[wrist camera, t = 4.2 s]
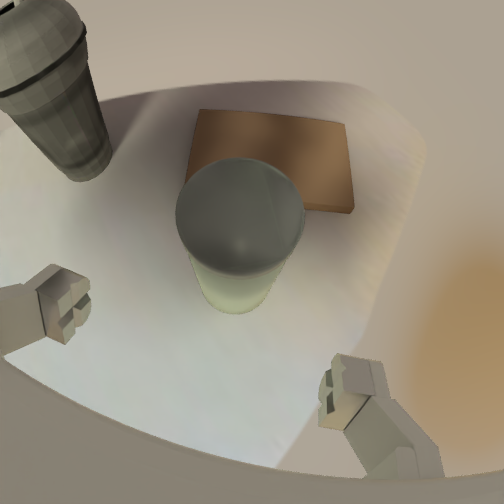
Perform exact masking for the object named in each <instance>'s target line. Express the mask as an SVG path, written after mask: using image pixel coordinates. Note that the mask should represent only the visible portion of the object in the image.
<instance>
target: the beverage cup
mask: <svg viewBox="0 0 504 504" xmlns="http://www.w3.org/2000/svg"><path fill="white" fill-rule="evenodd" d="M86 33H87V31H86V26H85V24H84V23H83V21H81V20H80V17H79V15H78V13H77V12H76V10H75V9H74V8H73V7H72V6H71V5H70V4H69V3H68V2H66V1H65V0H12V1H10V2H9V3H7V4H6V5H4V6H3V7H2V8H0V109H1V110H2V111H3V112H5V113H7V114H8V115H9V116H10V117H11V118H12V119H13V121H14V122H15V123H16V124H17V125H18V126H19V127H20V128H21V130H22V131H23V132H24V133H25V134H26V135H27V136H28V137H29V138H30V139H31V141H32V142H33V143H34V144H35V145H36V146H37V147H38V148H39V149H40V150H41V151H42V152H43V153H44V155H45V156H46V157H47V158H48V159H49V160H50V161H51V162H52V163H53V164H54V165H55V166H56V167H57V168H58V169H59V170H60V171H62V172H63V173H64V174H65V175H66V176H67V177H68V178H69V179H71V180H73V181H76V182H83V181H88V180H90V179H92V178H94V177H96V176H98V175H99V174H100V173H101V172H103V170H104V169H105V168H106V167H107V165H108V164H109V162H110V159H111V156H112V149H111V145H110V143H109V137H108V133H107V130H106V127H105V123H104V120H103V117H102V113H101V110H100V106H99V103H98V99H97V96H96V93H95V89H94V85H93V81H92V77H91V74H90V70H89V66H88V62H87V60H88V52H87V42H86V37H85V35H86Z"/></svg>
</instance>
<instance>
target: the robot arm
mask: <svg viewBox="0 0 504 504" xmlns="http://www.w3.org/2000/svg"><path fill="white" fill-rule="evenodd" d="M89 290H90V280H89V279H88V278H87V277H84V276H82V275H80V274H77V273H75V272H73V271H70V270H68V269H66V268H63V267H60V266H58V265H56V264H50V265H49V266H47V267H46V268H45V269H43V270H42V271H41V272H39V273H38V274H37V275H35V276H34V277H33V278H31V279H30V280H29V281H28V282H26V283H25V284H24V285H23V284H21V283H20V284H16V285H11V286H7V287H2V288H0V504H504V469H503V470H498V471H492V472H486V473H480V474H472V475H465V476H455V477H445V475H444V471H443V466H442V462H441V457H440V453H439V449H438V446H437V445H436V444H435V443H434V442H433V441H432V440H431V439H430V437H429V436H428V435H427V434H426V433H425V432H424V431H423V430H422V429H421V427H420V426H419V425H418V424H417V423H416V422H415V421H414V420H413V419H412V418H411V417H410V415H409V414H408V413H407V412H406V411H405V410H404V409H403V408H402V407H401V406H400V405H399V403H398V402H397V401H396V400H395V399H391V397H390V393H389V388H388V384H387V380H386V376H385V371H384V367H383V364H382V362H381V361H376V360H370V359H363V358H358V357H353V356H348V355H344V354H339V353H337V354H336V355H335V356H334V358H333V359H332V361H331V369H330V370H328V371H326V372H325V374H324V376H323V378H322V380H321V383H320V386H319V393H318V399H319V401H320V402H321V403H322V405H321V407H320V408H319V410H318V420H319V421H318V426H319V427H324V428H329V429H335V430H341V431H343V433H344V435H345V436H346V438H347V440H348V441H349V443H350V445H351V447H352V448H353V450H354V452H355V453H356V455H357V457H358V458H359V460H360V462H361V463H362V465H363V467H364V468H365V470H366V472H367V475H366V476H365V477H364V478H362V479H358V478H344V477H332V476H322V475H313V474H306V473H299V472H292V471H286V470H280V469H274V468H269V467H264V466H259V465H254V464H249V463H245V462H240V461H236V460H232V459H228V458H224V457H220V456H216V455H212V454H209V453H205V452H202V451H198V450H195V449H192V448H188V447H185V446H182V445H179V444H176V443H173V442H170V441H167V440H164V439H161V438H158V437H156V436H153V435H150V434H148V433H145V432H142V431H140V430H137V429H135V428H132V427H130V426H127V425H125V424H123V423H120V422H118V421H116V420H113V419H111V418H109V417H107V416H104V415H102V414H100V413H98V412H96V411H94V410H91V409H89V408H87V407H85V406H83V405H81V404H79V403H77V402H75V401H73V400H71V399H69V398H68V397H66V396H64V395H62V394H60V393H58V392H56V391H55V390H53V389H51V388H49V387H48V386H46V385H44V384H42V383H41V382H39V381H37V380H36V379H34V378H32V377H31V376H29V375H27V374H26V373H24V372H23V371H21V370H19V369H18V368H16V367H15V366H13V365H12V364H10V363H9V362H7V361H6V360H5V359H4V355H6V354H8V353H11V352H13V351H15V350H18V349H20V348H22V347H24V346H27V345H29V344H31V343H33V342H36V341H38V340H40V339H42V338H45V337H46V336H47V337H49V338H51V339H53V340H55V341H58V342H60V343H62V344H64V345H66V344H67V342H68V341H69V340H70V339H71V338H72V337H73V335H74V334H75V328H76V327H79V326H82V325H83V324H84V323H85V322H86V320H87V319H88V316H89V314H90V310H91V299H90V298H89V296H88V294H87V292H88V291H89Z"/></svg>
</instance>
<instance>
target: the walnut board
mask: <svg viewBox="0 0 504 504" xmlns="http://www.w3.org/2000/svg"><path fill="white" fill-rule="evenodd" d="M235 157H243V158H252V159H256V160H260V161H263V162H266V163H268V164H270V165H272V166H274V167H276V168H277V169H279V170H280V171H282V172H283V173H284V174H285V175H286V176H287V177H288V178H289V179H290V180H291V181H292V182H293V184H294V185H295V186H296V188H297V190H298V192H299V193H300V196H301V198H302V201H303V205H304V209H309V210H319V211H329V212H338V213H347V214H350V213H351V212H352V210H353V209H354V197H353V187H352V178H351V169H350V161H349V153H348V146H347V138H346V131H345V125H344V124H341V123H335V122H329V121H322V120H315V119H308V118H301V117H293V116H285V115H276V114H266V113H255V112H242V111H227V110H207V109H200V110H199V114H198V119H197V124H196V128H195V133H194V138H193V143H192V148H191V153H190V158H189V163H188V169H187V174H186V179H185V184H186V183H187V181H188V180H189V179H190V178H191V177H192V176H193V175H194V174H195V173H196V172H197V171H199V170H200V169H201V168H203V167H205V166H206V165H208V164H211V163H213V162H215V161H219V160H222V159H227V158H235Z"/></svg>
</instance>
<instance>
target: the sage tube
mask: <svg viewBox="0 0 504 504" xmlns="http://www.w3.org/2000/svg"><path fill="white" fill-rule="evenodd" d="M175 215H176V225H177V229H178V232H179V235H180V238H181V240H182V243H183V245H184V247H185V249H186V251H187V253H188V255H189V258H190V261H191V263H192V266H193V269H194V271H195V274H196V277H197V279H198V282H199V284H200V287H201V289H202V292H203V295H204V296H205V298H206V300H207V301H208V302H209V303H210V304H211V305H212V306H213V307H214V308H216V309H217V310H219V311H221V312H224V313H227V314H243V313H247V312H250V311H252V310H253V309H255V308H256V307H258V306H259V305H260V304H261V303H262V302H263V300H264V299H265V297H266V296H267V294H268V292H269V290H270V289H271V287H272V285H273V283H274V281H275V280H276V278H277V276H278V274H279V273H280V271H281V269H282V267H283V265H284V264H285V262H286V260H287V259H288V257H289V256H290V255H291V253H292V252H293V250H294V248H295V247H296V245H297V243H298V241H299V239H300V237H301V234H302V232H303V227H304V220H305V213H304V205H303V201H302V198H301V196H300V193H299V192H298V190H297V188H296V186H295V185H294V184H293V182H292V181H291V180H290V179H289V178H288V177H287V176H286V175H285V174H284V173H283V172H282V171H280V170H279V169H277V168H276V167H274V166H272V165H270V164H268V163H266V162H263V161H260V160H256V159H252V158H243V157H235V158H227V159H222V160H219V161H215V162H213V163H211V164H208V165H206V166H205V167H203V168H201V169H200V170H199V171H197V172H196V173H195V174H194V175H193V176H192V177H191V178H190V179H189V180H188V181H187V183H186V184H185V185H184V187H183V189H182V190H181V192H180V195H179V197H178V200H177V205H176V213H175Z"/></svg>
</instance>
